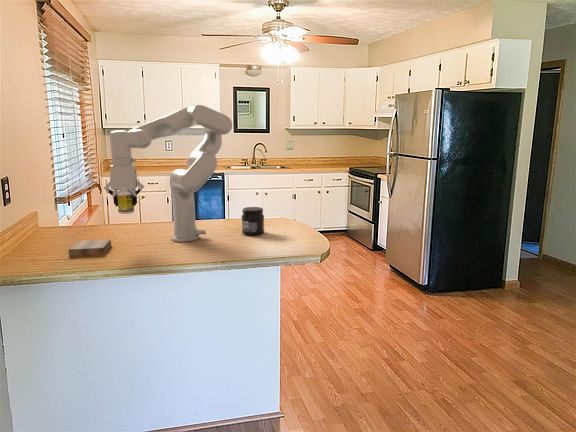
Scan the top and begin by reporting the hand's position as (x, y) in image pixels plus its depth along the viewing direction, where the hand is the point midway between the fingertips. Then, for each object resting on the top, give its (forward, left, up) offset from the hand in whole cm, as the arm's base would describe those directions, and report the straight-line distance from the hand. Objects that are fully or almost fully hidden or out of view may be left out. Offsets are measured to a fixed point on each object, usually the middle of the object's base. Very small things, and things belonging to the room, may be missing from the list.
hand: (125, 205), depth 186 cm
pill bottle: (0, 0, -3) cm, 3 cm away
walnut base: (+15, +2, -18) cm, 24 cm away
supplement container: (-53, -16, -19) cm, 59 cm away
